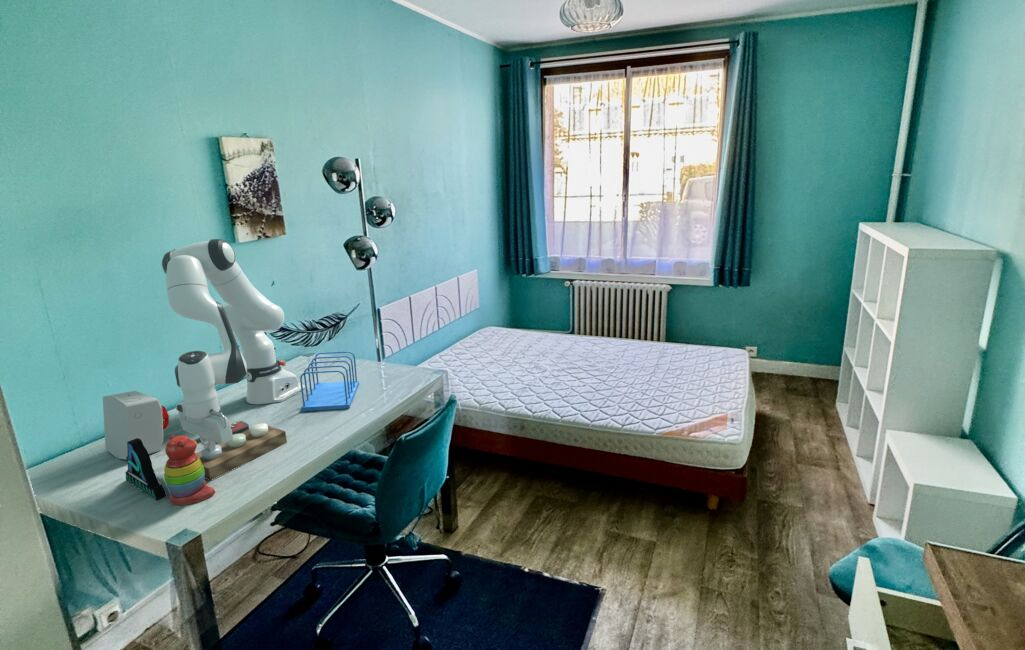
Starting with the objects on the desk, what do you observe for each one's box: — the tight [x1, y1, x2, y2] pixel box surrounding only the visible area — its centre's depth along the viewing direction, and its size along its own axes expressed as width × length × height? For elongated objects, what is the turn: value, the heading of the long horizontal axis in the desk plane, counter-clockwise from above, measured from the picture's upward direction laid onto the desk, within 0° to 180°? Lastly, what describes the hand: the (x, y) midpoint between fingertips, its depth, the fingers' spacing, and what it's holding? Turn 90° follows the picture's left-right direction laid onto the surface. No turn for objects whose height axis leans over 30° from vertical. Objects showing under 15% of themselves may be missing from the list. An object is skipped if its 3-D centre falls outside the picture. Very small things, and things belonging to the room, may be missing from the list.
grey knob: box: [201, 444, 222, 460], centre depth 161 cm, size 5×5×5 cm
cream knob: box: [249, 422, 269, 437], centre depth 174 cm, size 5×5×5 cm
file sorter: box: [299, 350, 360, 412], centre depth 209 cm, size 25×17×15 cm
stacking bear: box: [163, 434, 216, 506], centre depth 145 cm, size 11×10×18 cm
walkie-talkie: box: [193, 420, 250, 445], centre depth 179 cm, size 9×4×20 cm
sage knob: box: [227, 434, 246, 448], centre depth 167 cm, size 5×5×5 cm
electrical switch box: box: [102, 390, 170, 460], centre depth 173 cm, size 15×15×20 cm
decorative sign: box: [124, 438, 167, 502], centre depth 150 cm, size 19×2×15 cm, turn 56°
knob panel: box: [195, 425, 288, 481], centre depth 168 cm, size 26×12×4 cm, turn 150°
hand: (210, 449), depth 160 cm, fingers closed, pressing on grey knob
